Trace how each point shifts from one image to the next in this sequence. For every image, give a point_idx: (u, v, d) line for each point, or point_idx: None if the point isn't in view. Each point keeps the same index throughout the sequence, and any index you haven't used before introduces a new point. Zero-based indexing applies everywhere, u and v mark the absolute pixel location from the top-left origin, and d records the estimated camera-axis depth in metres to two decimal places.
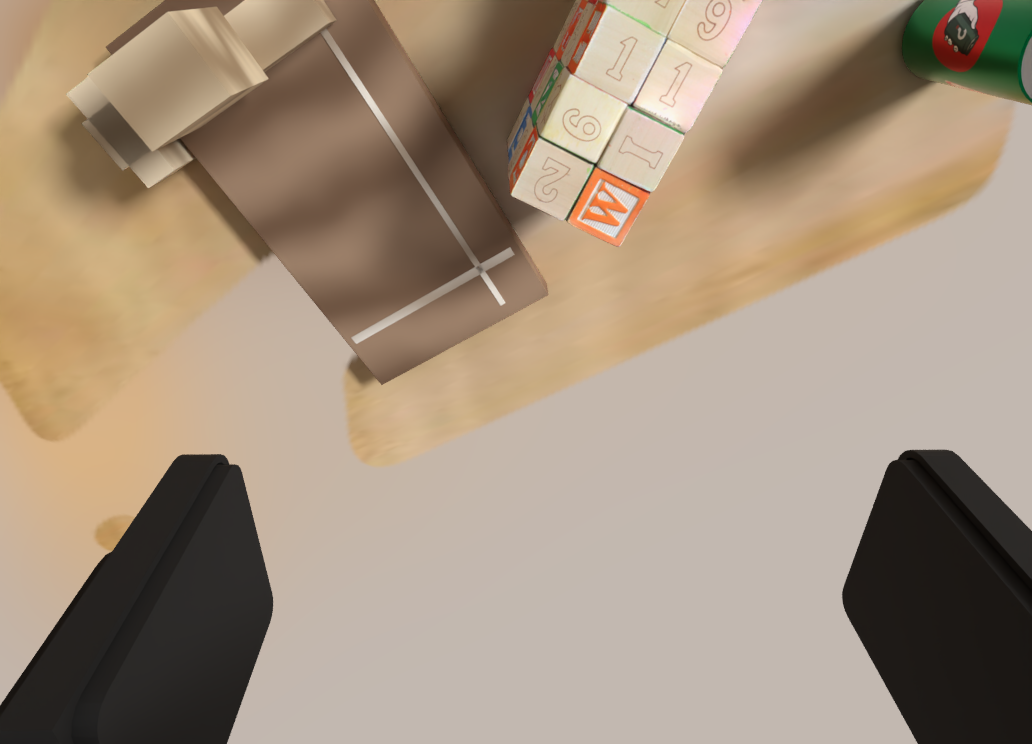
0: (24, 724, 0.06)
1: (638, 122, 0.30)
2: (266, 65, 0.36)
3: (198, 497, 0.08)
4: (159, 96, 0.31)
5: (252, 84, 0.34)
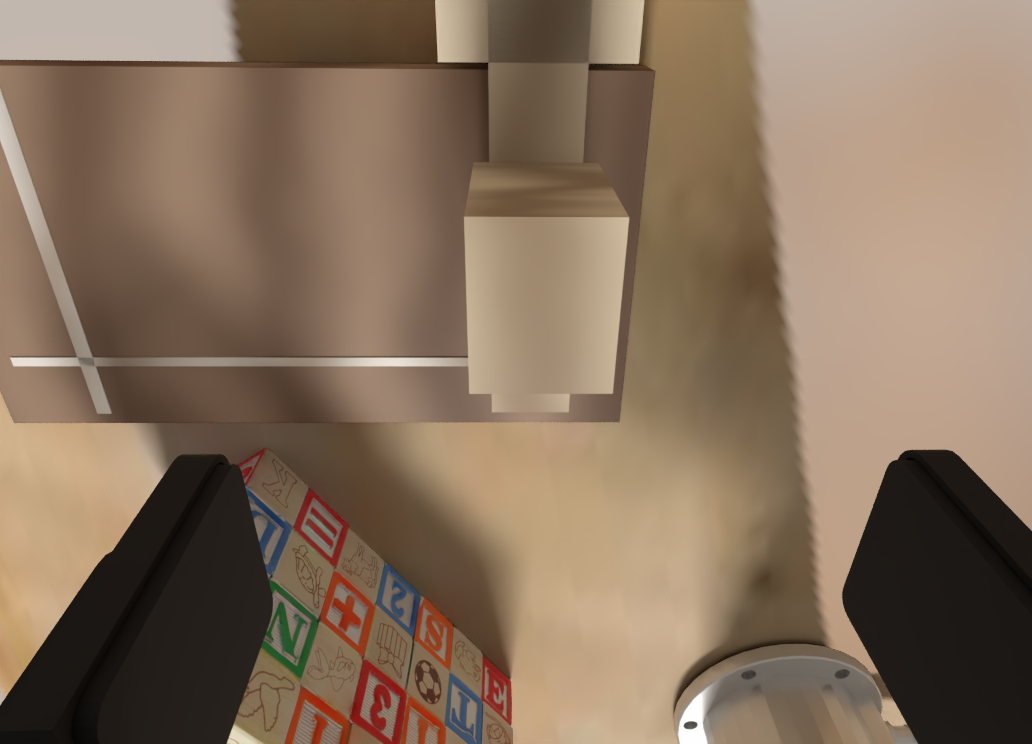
0: (24, 724, 0.06)
1: None
2: None
3: (198, 497, 0.08)
4: (530, 299, 0.17)
5: None
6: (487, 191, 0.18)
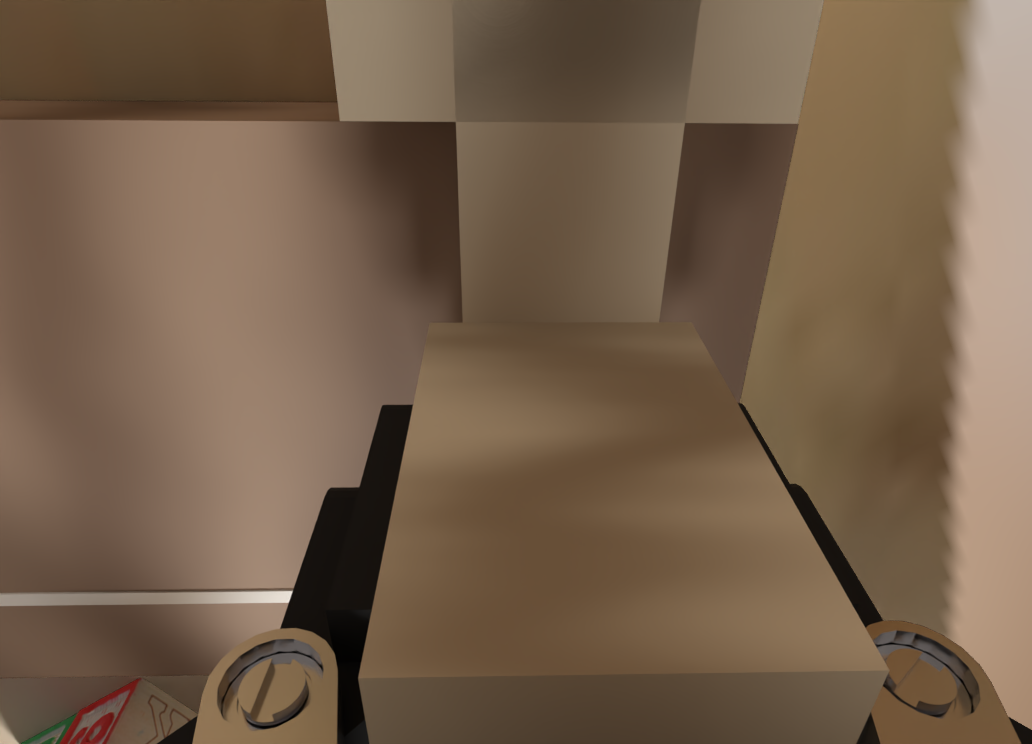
0: (349, 606, 0.07)
1: None
2: None
3: None
4: None
5: None
6: (448, 473, 0.07)
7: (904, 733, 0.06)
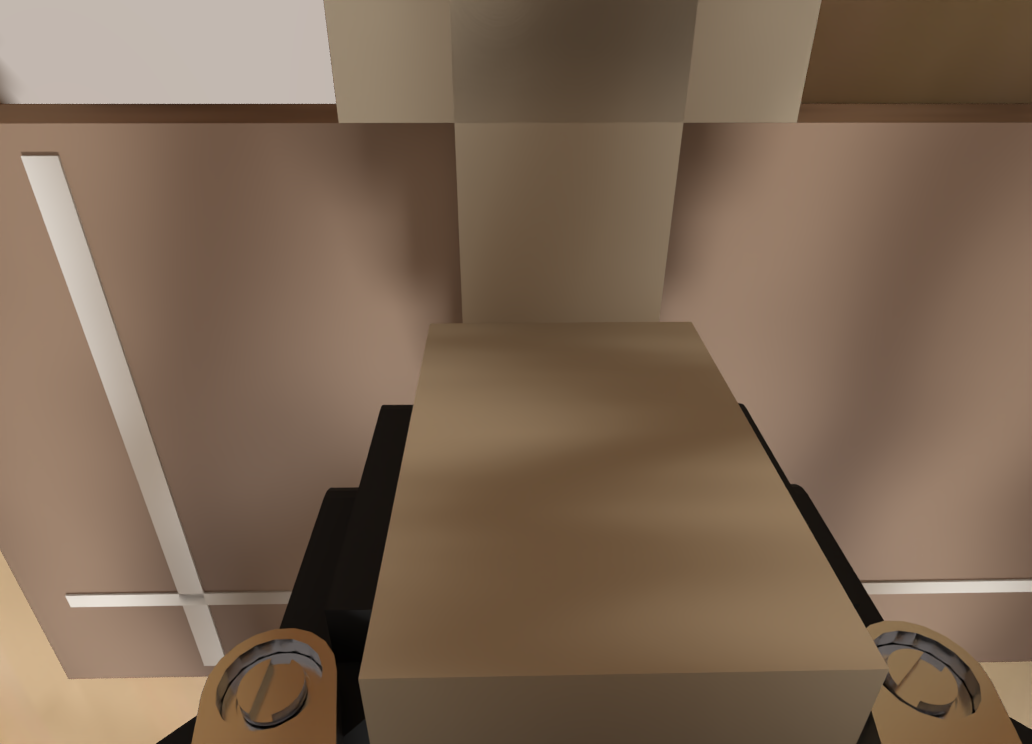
0: (348, 606, 0.07)
1: None
2: None
3: None
4: None
5: None
6: (448, 474, 0.07)
7: (905, 733, 0.06)
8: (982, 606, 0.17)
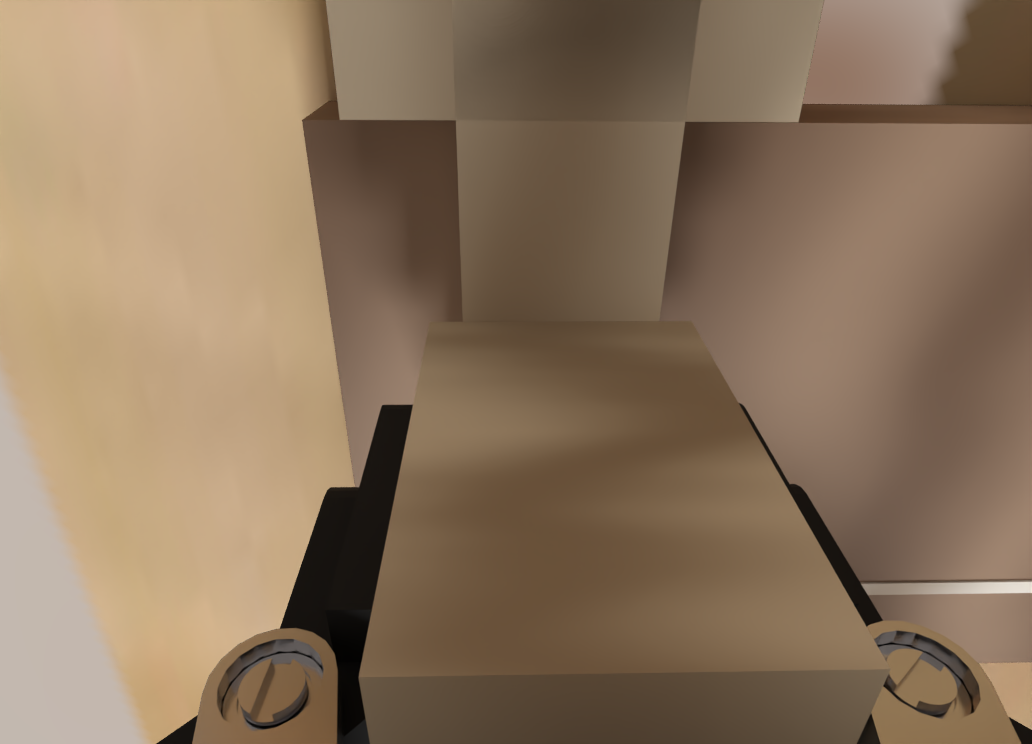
0: (349, 606, 0.07)
1: None
2: None
3: None
4: None
5: None
6: (448, 472, 0.07)
7: (904, 733, 0.06)
8: None
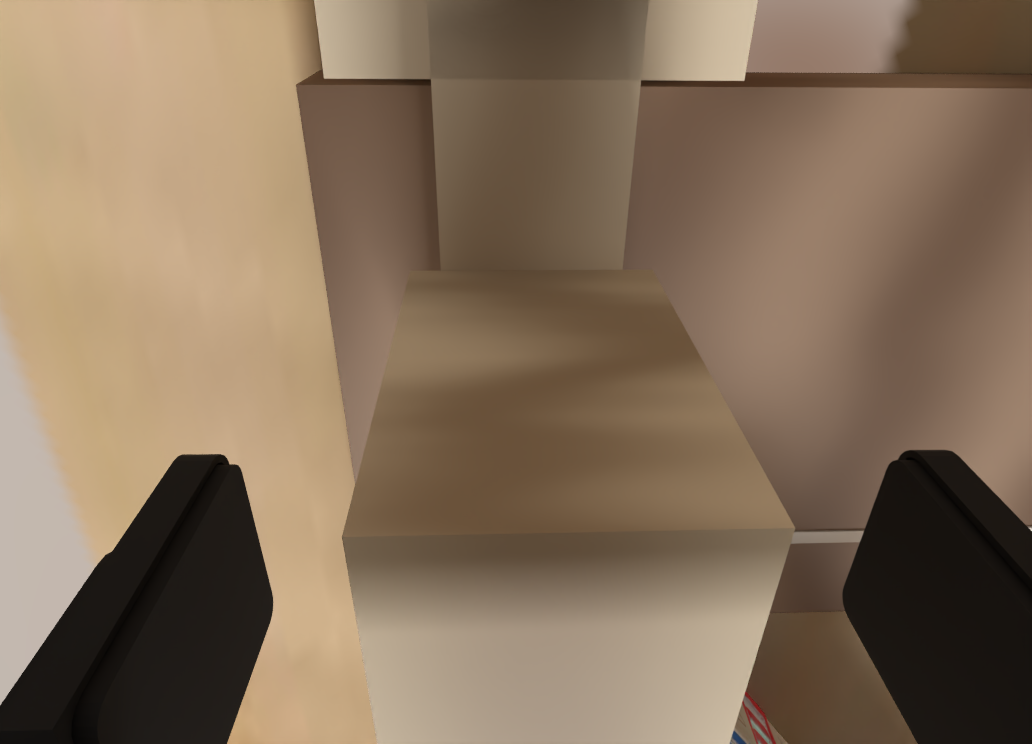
0: (24, 724, 0.06)
1: None
2: None
3: (198, 497, 0.08)
4: (528, 684, 0.07)
5: None
6: (424, 389, 0.08)
7: None
8: None
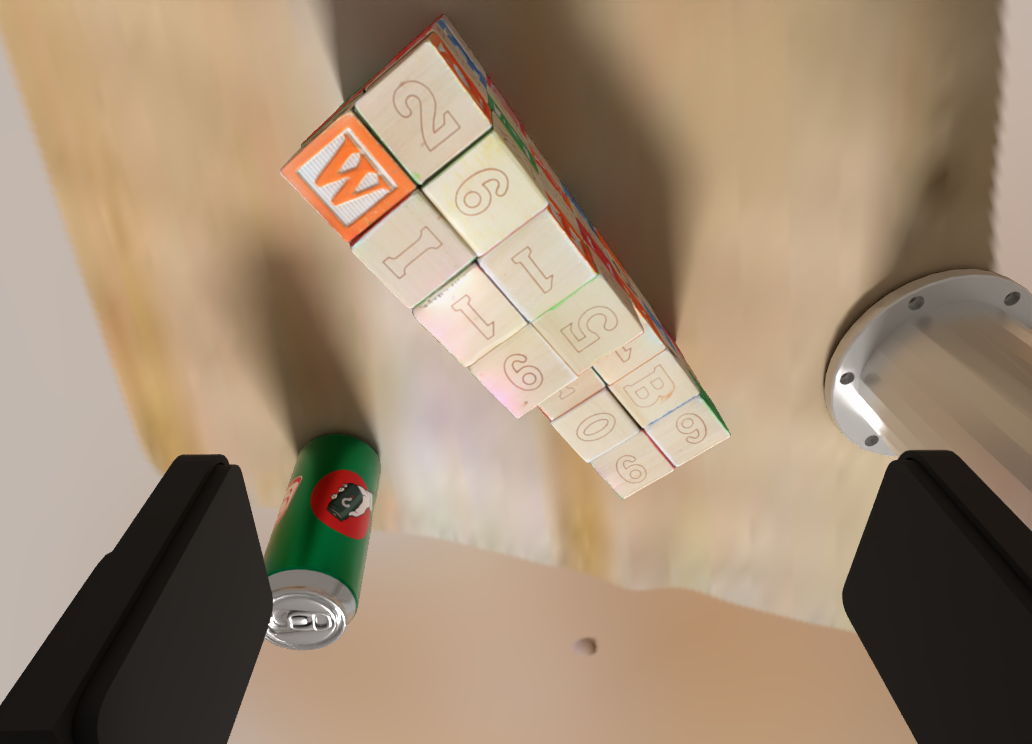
0: (24, 724, 0.06)
1: (452, 263, 0.22)
2: None
3: (198, 497, 0.08)
4: None
5: None
6: None
7: None
8: None
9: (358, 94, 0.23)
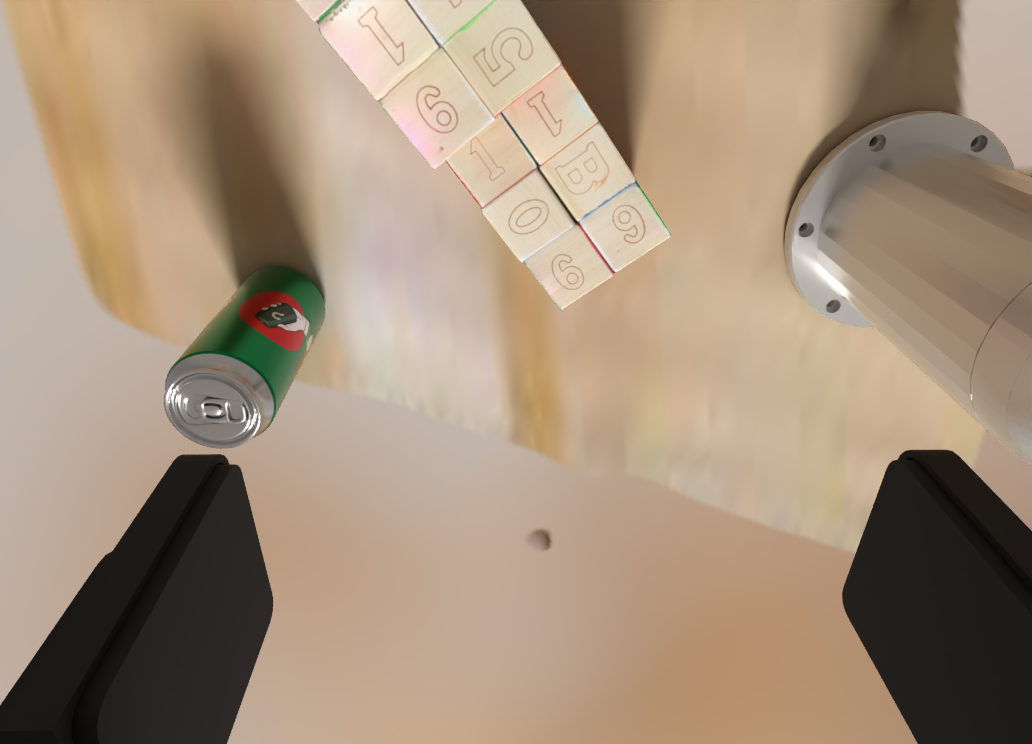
0: (24, 724, 0.06)
1: None
2: None
3: (198, 497, 0.08)
4: None
5: None
6: None
7: None
8: None
9: None
